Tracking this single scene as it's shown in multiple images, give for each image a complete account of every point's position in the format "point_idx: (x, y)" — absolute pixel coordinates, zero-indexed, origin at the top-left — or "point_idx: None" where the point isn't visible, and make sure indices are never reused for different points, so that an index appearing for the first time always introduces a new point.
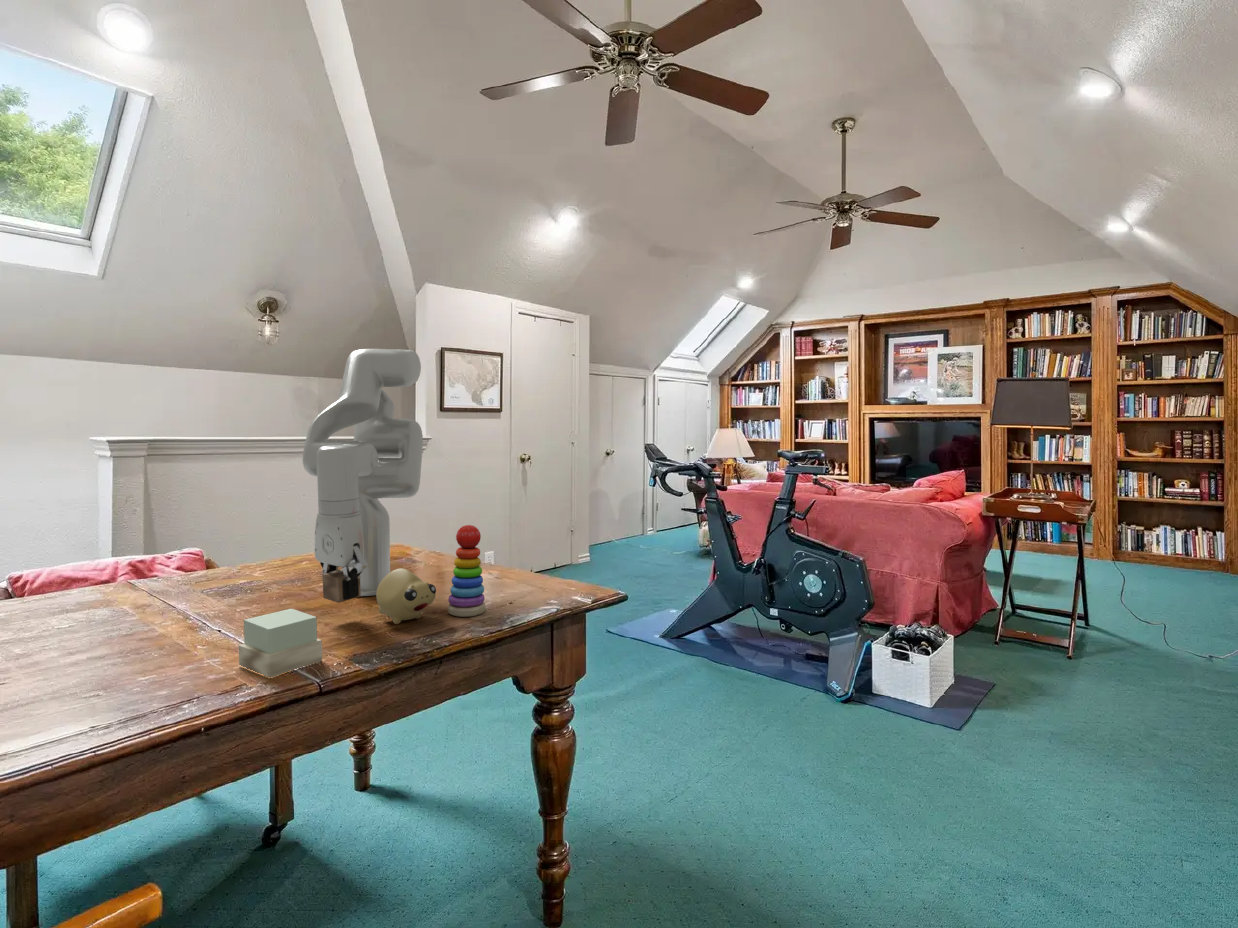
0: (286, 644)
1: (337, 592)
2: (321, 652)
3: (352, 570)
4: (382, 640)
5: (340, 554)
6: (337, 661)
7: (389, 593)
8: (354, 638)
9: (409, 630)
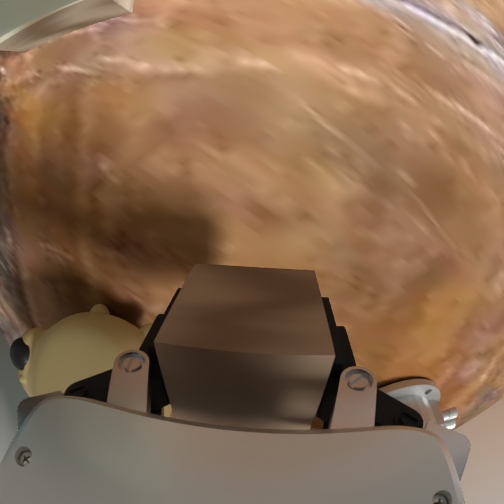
0: None
1: (190, 289)
2: (12, 49)
3: (75, 395)
4: (32, 212)
5: (29, 471)
6: (6, 77)
7: (64, 355)
8: (78, 178)
9: (56, 289)
